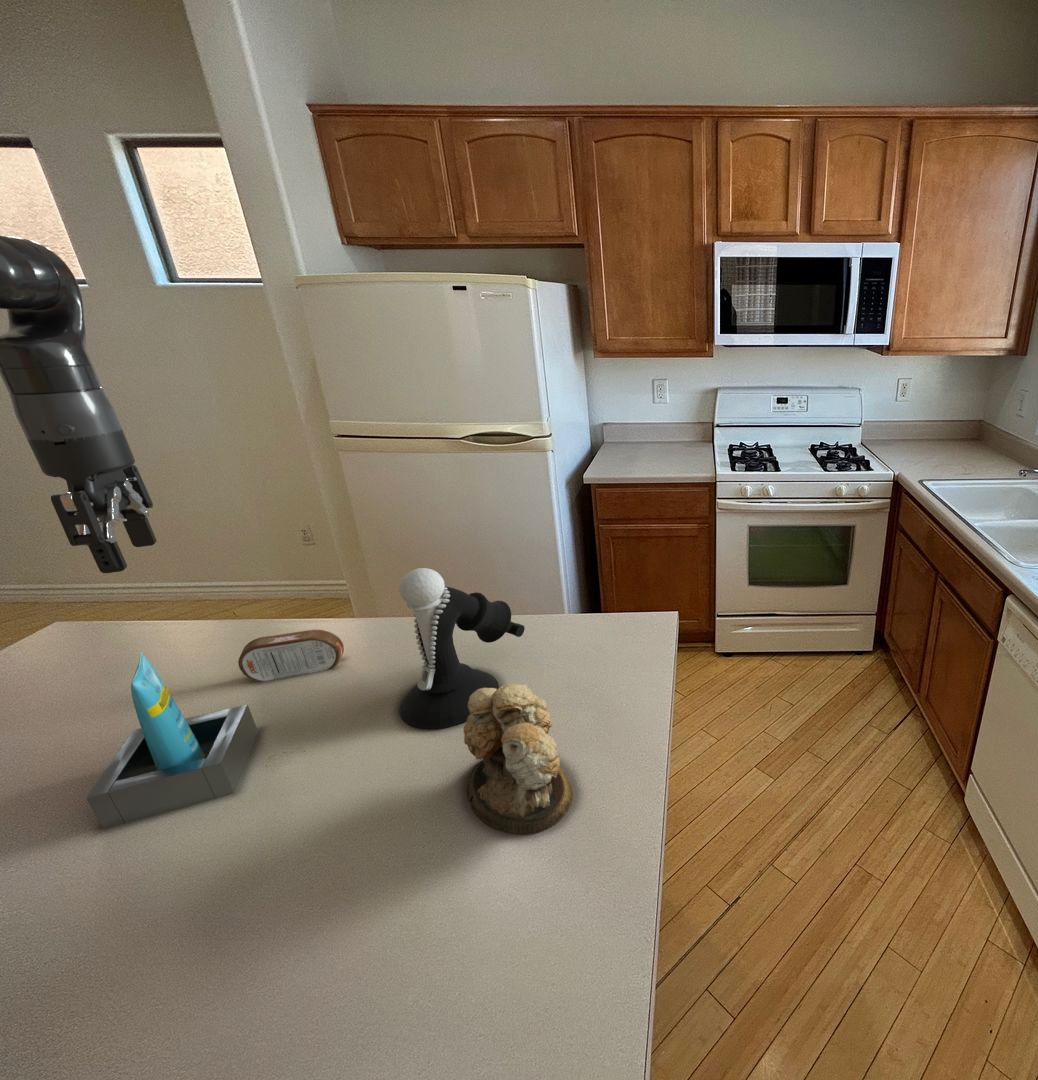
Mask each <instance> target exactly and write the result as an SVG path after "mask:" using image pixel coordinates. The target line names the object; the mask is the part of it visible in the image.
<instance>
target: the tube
mask: <svg viewBox="0 0 1038 1080" xmlns="http://www.w3.org/2000/svg"><path fill="white" fill-rule="evenodd" d="M130 692H131V698H132V702H133V706H134V709H135V710H134V711H135V713H136V715H137V720H138V723H139V726H140V729H142V731H143V734H144V737H145V740H146V742H147V745H148V747H149V750H150V753H151V755H152V758H153V760H154V763H155V765H156V768H157V769H156V771H158V770H162V769H166V768H170V767H174V766H178V765H182V764H186V763H190V762H194V761H198V760H202V759H207V756H206V755H205V753H203V751H202V749H201V747H200V745H199V744H198V742H197V740H196V738H195V736H194V734H193V733H192V731H191V729H190V727H189V725H188V724H187V722H186V720H185V718H186V717H185V716H184V714H183V713H182V711H181V710H180V707H179V705H178V704H177V702H176V700H175V699H174V698H173V696H172V694H171V693H170V691H169V689H168V687H167V686H166V684H165V683H164V681H163V680H162V678H161V676H159V674H158V672H157V671H156V669H155V668H154V667H153V665H152V664H151V662H150V661H149V660H148V658H147V657H146V656H145V654H144V652H143V651H141V652H140V654H139V659H138V663H137V666H136V669H135V671H134V675H133V676H132V679H131V682H130Z"/></svg>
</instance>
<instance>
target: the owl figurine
mask: <svg viewBox="0 0 1038 1080" xmlns="http://www.w3.org/2000/svg"><path fill="white" fill-rule="evenodd" d="M468 709H469V711H470V714H471V715H469V716H468V719H467V722H465V724H464V726H463V736H464V738H463V742H464V745H467V749H468V751H469V752H470V754H471V755H472V756H474V757H475V760H480V761H479V762H478V763H477V764H476V765H475V767H474V768H473V769H472V770H471V772H470V775H469V777H468V780H467V784H466V797H467V801H468V803H470V808H471V810H472V811H473V812H474V814H475V815H476V817H478V818H479V820H481V822H483V823H484V824H486V825H487V826H489V827H490V828H491V829H492V828H493V829H494V830H497V831H500V832H503V833H505V834H511V835H533V834H537V833H542V832H544V831H546V830H549V829H551V828H552V827H554V826H556V825H557V824H558V823H559V822H561V821H562V820H563V819H564V817H565V816H567V813H568V812H569V810H570V808H571V806H572V804H573V799H574V793H573V785H572V783H571V780H570V778H569V777H568V774H567V773H566V771H565V770H564V769H563V767H561V759H560V758H559V757H560V756H559V752H558V750H557V749H558V746H557V745H558V744H556V740H555V739H554V738H553V737H551V735H550V734H549V731H550V728H552V727H553V720H552V719H551V718H552V717H551V716H552V715H551V712H550V711H549V710H548V704H547V702H546V701H545V700H544V699H543V698H542V697H540V696H538V695H536V694H535V693H534V692H532V689H530V688H529V687H528V686H527V685H526V684H524V683H509V684H503V685H501V686H499V688H498V689H495V688H481V689H478V690H476V691H475V692H474V693H472V695H471V696H470V698H469V701H468Z"/></svg>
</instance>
